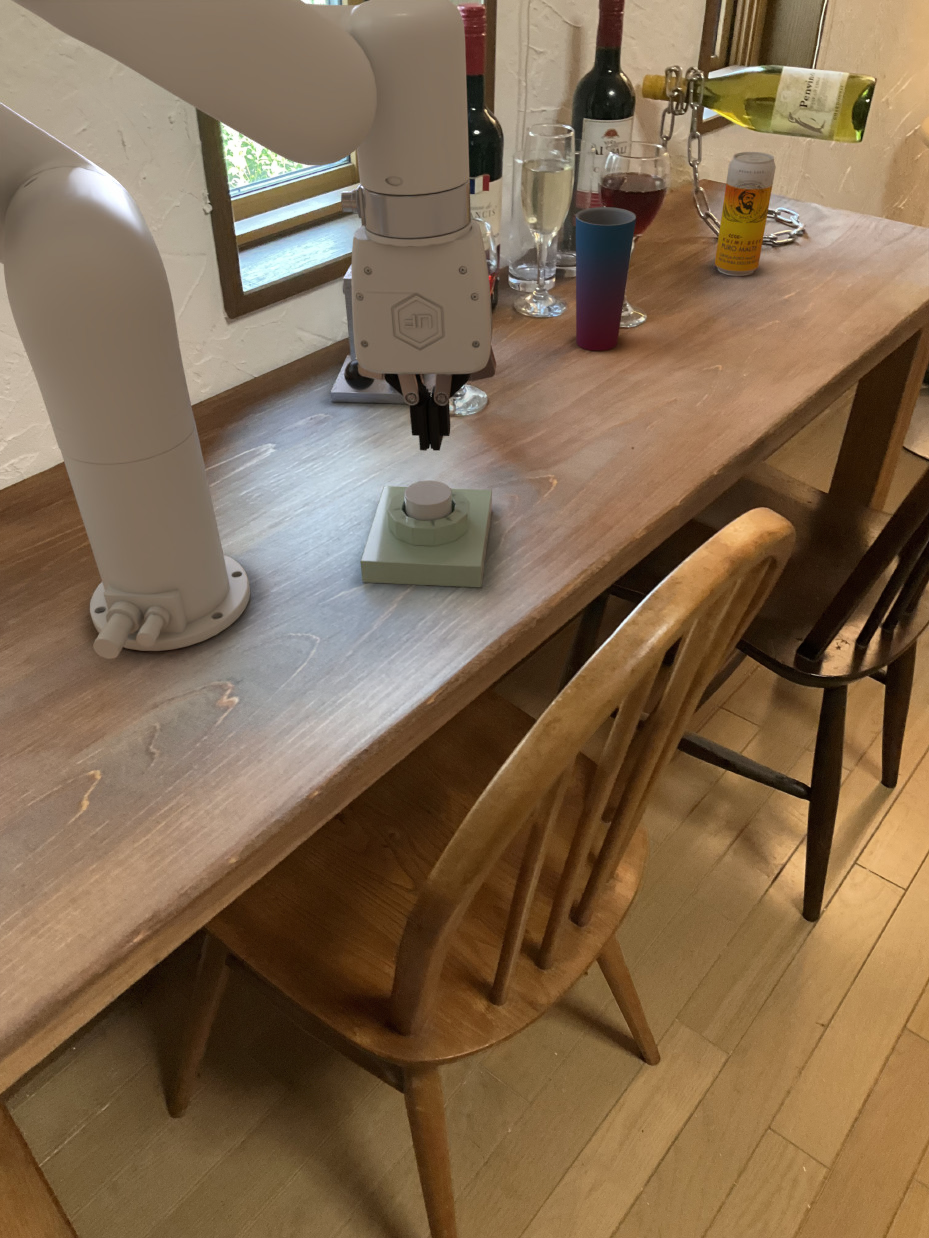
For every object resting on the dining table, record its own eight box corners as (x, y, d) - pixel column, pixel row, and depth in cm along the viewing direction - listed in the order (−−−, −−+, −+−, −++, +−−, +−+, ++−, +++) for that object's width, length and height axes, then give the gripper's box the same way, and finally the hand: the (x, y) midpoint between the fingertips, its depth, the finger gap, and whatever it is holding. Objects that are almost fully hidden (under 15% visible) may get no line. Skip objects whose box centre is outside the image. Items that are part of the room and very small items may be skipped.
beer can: (714, 276, 135) (731, 162, 126) (713, 262, 140) (729, 150, 131) (758, 278, 135) (779, 163, 125) (755, 263, 139) (775, 151, 130)
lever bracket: (411, 404, 106) (405, 289, 98) (331, 401, 107) (318, 287, 99) (423, 366, 114) (418, 256, 106) (348, 364, 114) (337, 255, 106)
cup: (627, 354, 115) (639, 224, 106) (570, 354, 116) (577, 225, 106) (621, 331, 121) (632, 206, 111) (567, 332, 121) (573, 207, 111)
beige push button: (449, 523, 81) (448, 505, 80) (402, 521, 81) (401, 504, 80) (454, 498, 84) (453, 481, 83) (409, 496, 84) (407, 479, 83)
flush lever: (375, 396, 100) (370, 378, 97) (345, 396, 101) (339, 378, 98) (389, 287, 105) (385, 267, 102) (360, 287, 105) (355, 267, 102)
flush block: (481, 588, 80) (480, 548, 77) (362, 582, 80) (358, 543, 78) (492, 510, 89) (492, 472, 86) (385, 506, 90) (382, 468, 87)
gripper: (299, 226, 65) (333, 464, 76) (521, 225, 63) (521, 467, 75) (322, 194, 70) (350, 419, 82) (526, 191, 69) (525, 421, 81)
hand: (432, 442), depth 78 cm, fingers closed
